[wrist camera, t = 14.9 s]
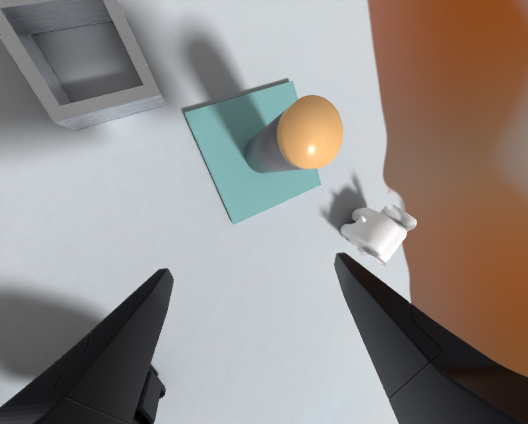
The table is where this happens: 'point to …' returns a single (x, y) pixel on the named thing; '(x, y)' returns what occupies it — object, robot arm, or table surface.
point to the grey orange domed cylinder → (297, 138)
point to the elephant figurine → (378, 231)
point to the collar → (42, 76)
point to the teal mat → (233, 147)
